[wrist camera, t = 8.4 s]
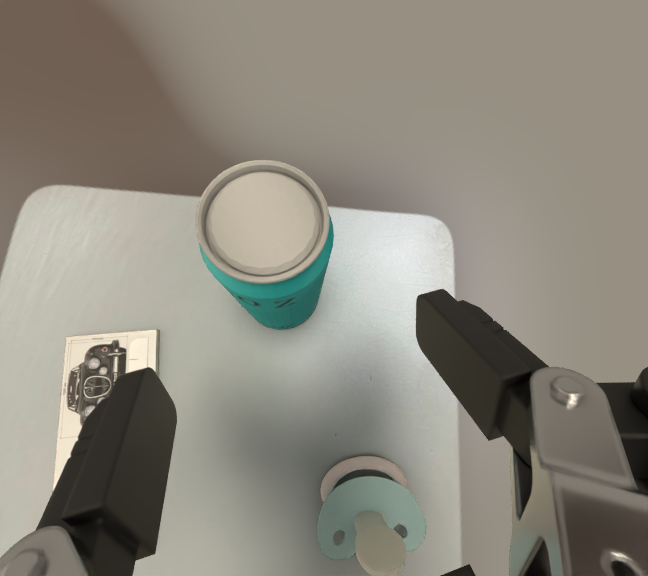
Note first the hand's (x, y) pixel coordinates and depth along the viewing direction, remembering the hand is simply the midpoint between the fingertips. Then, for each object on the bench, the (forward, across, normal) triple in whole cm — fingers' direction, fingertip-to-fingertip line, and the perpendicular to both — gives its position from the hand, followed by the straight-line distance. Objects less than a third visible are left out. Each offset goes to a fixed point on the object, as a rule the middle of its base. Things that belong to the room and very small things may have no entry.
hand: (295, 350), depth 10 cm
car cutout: (+11, +15, +13) cm, 22 cm away
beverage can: (+16, 0, +8) cm, 18 cm away
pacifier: (+4, -2, +20) cm, 20 cm away
